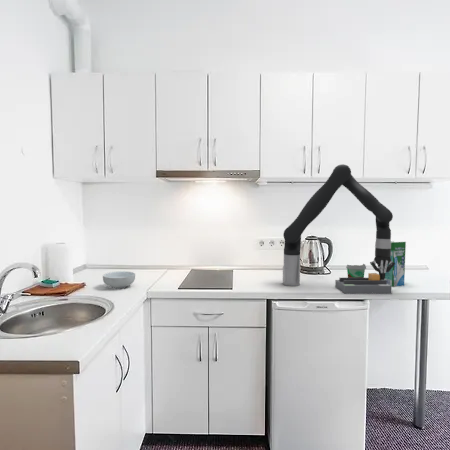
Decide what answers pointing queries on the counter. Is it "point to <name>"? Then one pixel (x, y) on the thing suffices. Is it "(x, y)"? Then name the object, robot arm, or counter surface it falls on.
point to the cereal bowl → (119, 279)
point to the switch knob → (373, 276)
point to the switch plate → (362, 286)
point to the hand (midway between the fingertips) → (381, 279)
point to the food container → (356, 271)
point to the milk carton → (397, 264)
